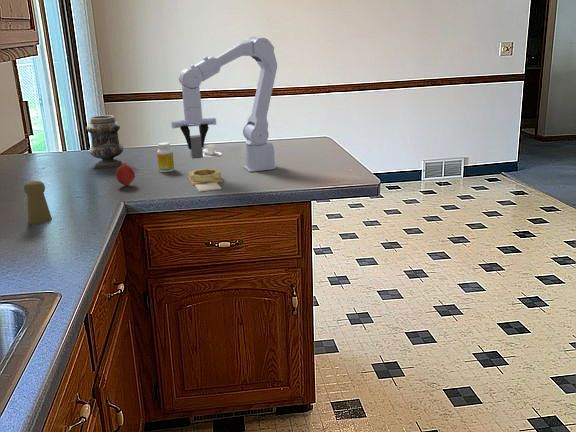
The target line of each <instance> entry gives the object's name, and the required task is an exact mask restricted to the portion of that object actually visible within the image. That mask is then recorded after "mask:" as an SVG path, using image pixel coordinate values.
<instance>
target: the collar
mask: <svg viewBox="0 0 576 432" xmlns="http://www.w3.org/2000/svg"><path fill="white" fill-rule="evenodd" d="M188 176H189V179H190V180H191V181H196V182H207V181H215V180H217V179H219V178H222V172H221V171H220V169H217V168H198V169H194V170H191V171H190V172H188ZM189 179H188V180H189Z"/></svg>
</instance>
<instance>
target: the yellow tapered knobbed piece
mask: <svg viewBox="0 0 576 432" xmlns="http://www.w3.org/2000/svg"><path fill="white" fill-rule="evenodd" d="M45 190H46V186H45V183H43V181H39V180H32V181H27V182H26V183H25V184H24V185H23V191H24V194H26V196H27V197H26V198H27V218H28V219H27V222H28V224H29V225H34V226H35V225H43V224H47V223H49V222H52V220H53V217H52V215H51V212H50V208H49V205H48V202H47V200H46V196H45V193H44V192H45Z"/></svg>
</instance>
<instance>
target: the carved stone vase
mask: <svg viewBox="0 0 576 432" xmlns="http://www.w3.org/2000/svg"><path fill="white" fill-rule="evenodd" d="M89 119H90V121H89V123H88V124H87V126H86V130H87V132H88V133H89V134H90V138H91V146H90V147H89V150H88V151H89V154H90V155H91V156H92V157H94V158H96V159H101V160H99V161H98V162H96V163H95V164H94V167H96V168H99V169H102V168H103V169H104V168H107V169H109V168H114V167H118V166H121V165H122V164H123V162H122V161H121V160H119V159H116V157H118V156H120V155H121V154H123V152H124V146H123V145H122V143H120V141H119V134H118V131H120V129H121V125H120V123H119V122H118V121H117V120H116V119H115V116H114V115H112V114H111V115H109V114H107V115H105V114H102V115H94V116H91V117H90V118H89ZM114 158H115V159H114Z"/></svg>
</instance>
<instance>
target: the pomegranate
mask: <svg viewBox="0 0 576 432" xmlns="http://www.w3.org/2000/svg"><path fill="white" fill-rule="evenodd" d="M135 174H136V173H135V171H134V168H132V167H131V166H130V165H128V164H127V162H126V161H124V162H122V164H121V165H119V167H118V168H117V169H116V172H115V178H116V180H117V182H118V183H119V184H121V185H123V186H125V187H129V186H130V184H131V183H132V182H133V181H134V180H135V178H136V175H135Z"/></svg>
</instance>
